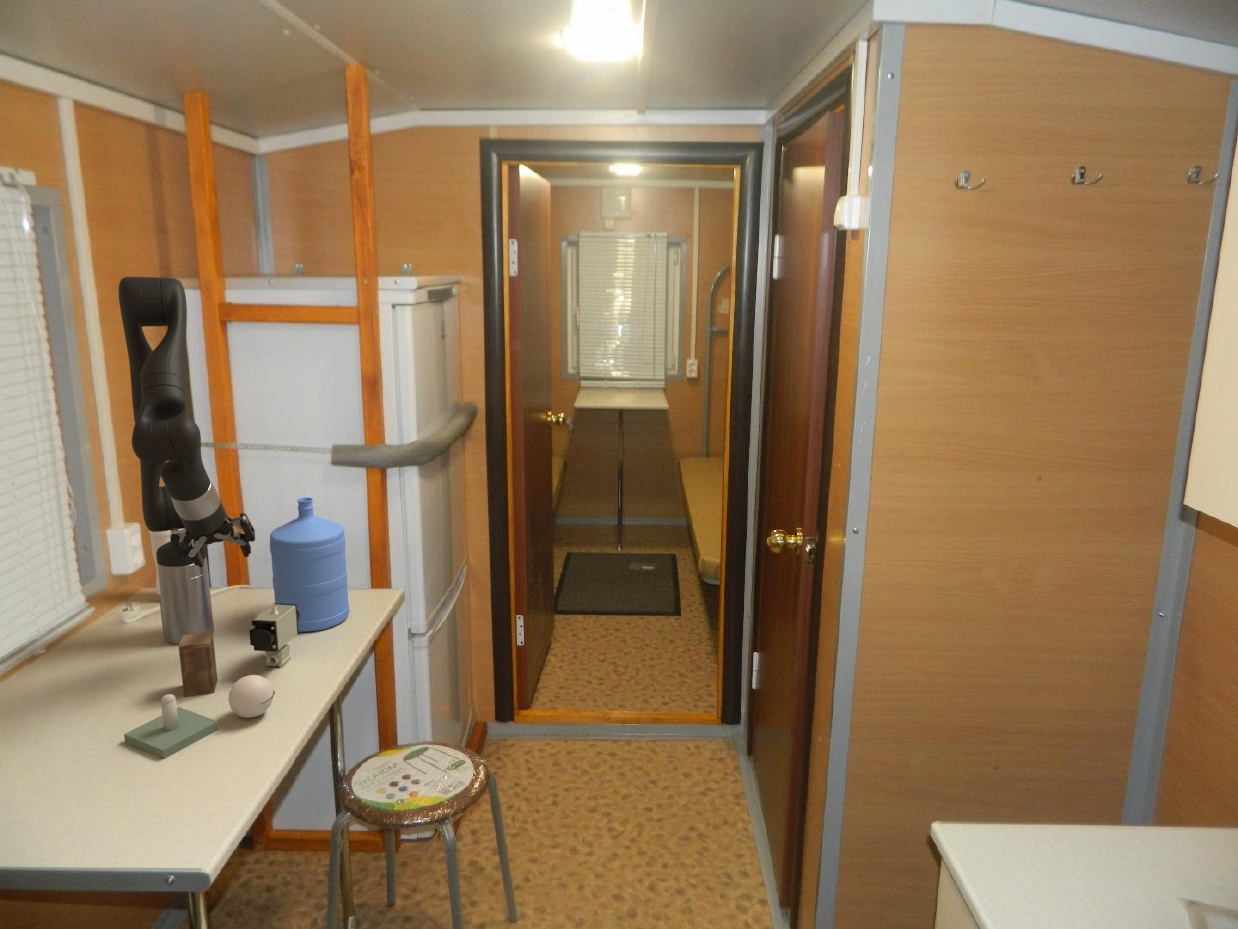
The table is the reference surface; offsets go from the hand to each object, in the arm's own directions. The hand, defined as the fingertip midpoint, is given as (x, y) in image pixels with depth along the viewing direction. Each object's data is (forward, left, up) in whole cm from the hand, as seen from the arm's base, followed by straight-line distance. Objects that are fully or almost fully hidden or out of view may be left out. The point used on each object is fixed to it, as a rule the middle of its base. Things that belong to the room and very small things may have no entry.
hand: (224, 559), depth 166 cm
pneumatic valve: (+12, 0, -20) cm, 24 cm away
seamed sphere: (+24, -14, -20) cm, 35 cm away
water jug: (+2, +19, -20) cm, 28 cm away
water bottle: (-36, +12, -20) cm, 43 cm away
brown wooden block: (+8, -14, -20) cm, 26 cm away
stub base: (+18, -27, -20) cm, 38 cm away
